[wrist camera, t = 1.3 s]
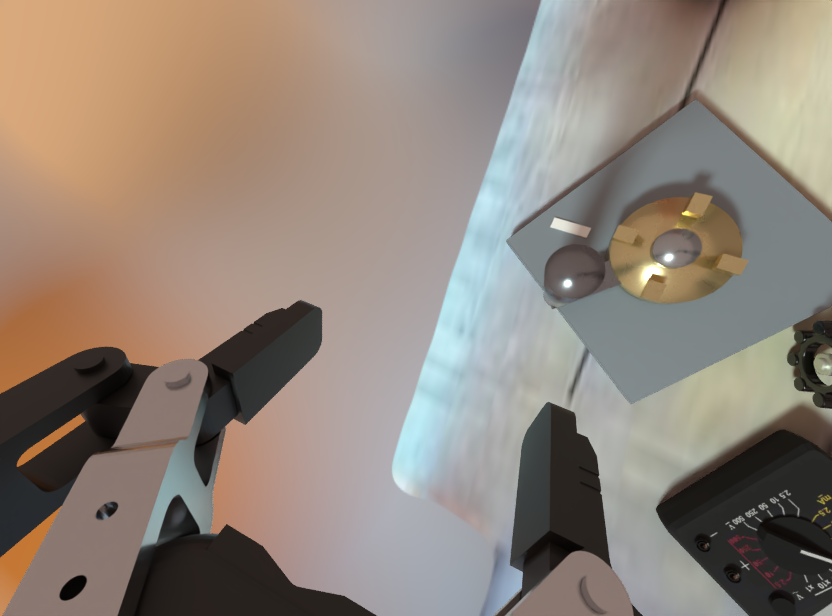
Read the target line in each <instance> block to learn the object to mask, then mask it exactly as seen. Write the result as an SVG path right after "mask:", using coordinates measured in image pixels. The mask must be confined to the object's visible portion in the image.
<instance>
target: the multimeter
mask: <svg viewBox="0 0 832 616" xmlns="http://www.w3.org/2000/svg"><path fill="white" fill-rule="evenodd" d="M656 511H657V513H658V516H659V518H660V520H661V522H662V523H663V525H664V526H665V528H666V529H667V530H668V532H669V533H670V534H671V535H672V536H673V537H674V538H675V539H676V540H677V541H678V542H679V544H680V545H681V546H682V547H683V548H684V549H685V550H686V551H687V552H688V553H689V554H690V555H691V556H692V557H693V558H694V559H695V560H696V561H697V562H698V563H699V564H700V565H701V566H702V567H703V568H704V569H705V571H706V572H707V573H708V574H709V575H710V576H711V577H712V578H713V579H714V580H715V581H716V582H717V583H718V584H719V585H720V586H721V587H722V588H723V589H724V590H725V591H726V592H727V593H728V594H729V595H730V596H731V598H732V599H733V600H734V601H735V602H736V603H737V604H738V605H739V606H740V607H741V608H742V609H743V610H744V611H745V612H746V613H747V614H748V615H749V616H832V458H831V457H830V456H829V455H827V454H826V453H825V452H824V451H822V450H821V449H820V448H819V447H818V446H816V445H815V444H813V443H811V442H810V441H808V440H806V439H804V438H802V437H800V436H798V435H796V434H794V433H791V432H788V431H786V430H779V431H776V432H775V433H773V434H772V435H770V436H769V437H767V438H765V439H764V440H762V441H761V442H759V443H757V444H756V445H754V446H753V447H751V448H749V449H748V450H746V451H745V452H743V453H742V454H740V455H738V456H737V457H735V458H734V459H732V460H730V461H729V462H727V463H726V464H724V465H722V466H721V467H719V468H718V469H716V470H715V471H713V472H711V473H710V474H708V475H707V476H705V477H703V478H702V479H700V480H699V481H697V482H695V483H694V484H692V485H691V486H689V487H688V488H686V489H684V490H683V491H681V492H680V493H678V494H676V495H675V496H673V497H672V498H670V499H669V500H667V501H665V502H664V503H662V504H661V505H659V506H658V507H657V509H656Z"/></svg>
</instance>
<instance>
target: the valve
mask: <svg viewBox="0 0 832 616" xmlns="http://www.w3.org/2000/svg"><path fill="white" fill-rule="evenodd" d="M794 339H795V341H796V342H797V343H799V344H800V345H801V349H800V352H799V353H789V354H788V356H787V361H788V363H789V364H790V365H791V366H798V367H799V369H800V373H801V376H800V377H797V378H796V379H795V380H794V386H795V388H796V389H797V390H798V391H804V392H815V394H814V395H813V402H814V404H815V405H816V406H817V407H820V408H829V409H832V385H831V386H827V385H826V384H824V383H823V382H822V381H821V380H820V379H819V378H818V376H817V374H816V372H815V369H814V367H815V368H816V370H817V372H818V373H819V374H822V375H828V376H832V354H823V353H819V354H818V355H817V356H816V358H814V355H815V352H816V350H817V349H818V348H819V347H820V346H821V345H822V344H824V343H826V344H828V345H830V346H831V347H832V321H817V322H815V323H814V325H813V331H812V330H798V331H796V332H795V334H794Z"/></svg>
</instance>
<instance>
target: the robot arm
mask: <svg viewBox="0 0 832 616" xmlns="http://www.w3.org/2000/svg"><path fill="white" fill-rule="evenodd" d="M321 342H322V310H321V309H320V308H319V307H317V306H314V305H312V304H309V303H307V302H304V301H301V300H300V301H297V302H296V303H294V304H293V305H291V306H290V307H289V308H287V309H283V308H281V309H278V310H275V311H272V312H269V313H266V314H265V315H264V316H262V317H261V318H259V319H258V320H256V321H255V322H254V324H250V325H249V326H247V327H246V328H245V329H244V330H243V331H240V332H239V333H237V334H236V335H234V336H233V337H231V338H230V339H229V340H227V341H226V342H224V343H223V344H221V345H220V346H218V347H217V348H215V349H214V350H213V351H211V352H210V353H208V354H207V355H205V356H204V357H202V358H201V359H199V360H194V359H182V360H176V361H173V362H169V363H167V364H164V365H163V366H161V367H154V366H147V365H139V364H132V363H129V361H128V359H127V357H126V355H125V353H124V352H123V351H122V350H120V349H118V348H113V347H99V348H92V349H88V350H85V351H82V352H79V353H77V354H75V355H72V356H71V357H69V358H67V359H65V360H63V361H61V362H59V363H57V364H55V365H54V366H52V367H50V368H48V369H46V370H44V371H43V372H40V373H39V374H37V375H35V376H33V377H31V378H29V379H27V380H26V381H24V382H22V383H20V384H18V385H16V386H14V387H12V388H11V389H9V390H7V391H5V392H3V393H1V394H0V557H1V556H2V555H4V554H5V553H6V552H7V551H8V550H10V549H11V548H12V547H13V546H14V545H15V544H16V543H18V542H19V541H20V540H21V539H22V538H24V537H25V536H26V535H27V534H28V533H30V532H31V531H32V530H33V529H34V528H36V527H37V526H38V525H39V524H40V523H42V522H43V521H44V520H45V519H46V518H47V517H49V516H50V515H51V514H52V513H53V512H55V511H56V510H57V509H58V508H59V507H60V506H62V507H61V509H60V510H59V512H58V514H57V516H56V518H55V520H54V522H53V524H52V525H51V527H50V529H49V531H48V533H47V534H46V536H45V538H44V540H43V542H42V544H41V545H40V548H39V549H38V551H37V553H36V555H35V557H34V558H33V560H32V562H31V564H30V566H29V568H28V569H27V571H26V573H25V575H24V577H23V579H22V580H21V582H20V584H19V586H18V588H17V590H16V592H15V593H14V595H13V597H12V599H11V601H10V603H9V604H8V606H7V608H6V610H5V612H4V614H3V616H376V615H375V614H373V613H371V612H370V611H368V610H366V609H365V608H363V607H362V606H360V605H358V604H357V603H355V602H353V601H352V600H350V599H348V598H347V597H345V596H341V595H336V594H331V593H326V592H321V591H316V590H311V589H306V588H301V587H297V586H295V585H293V584H292V583H291V582H290V581H289V580H288V578H287V577H286V576H285V574H284V573H283V572H282V570H281V569H280V568H279V567H278V566H277V564H276V563H275V561H274V560H273V559H272V558H271V556H270V555H269V554H268V552H267V551H266V550H265V549H264V547H263V546H261V545H259V544H258V543H257V542H255V541H253V540H252V539H250V538H248V537H247V536H245V535H244V534H241V533H240V532H239V531H237V530H235V529H233V528H232V527H230V526H229V525H227V524H226V526H225V527H224V528H223V529H222V530H221V532H220V533H219V534H210V532H211V526H212V520H213V489H214V484H215V479H216V474H217V469H218V465H219V460H220V455H221V450H222V446H223V441H224V436H225V431H226V427H225V426H226V425H227V424H228V423H229V422H230V421H231V420H232V419H235V420H237V421H239V422H241V423H243V424H245V425H246V424H247V423H248V422H249V421H250V420H251V419H252V418H253V417H254V416H255V415H256V414H257V413H258V412H259V411H260V410H261V409H262V408H263V407H264V406H265V405H266V404H267V403H268V402H269V401H270V400H271V399H272V398H273V397H274V396H275V395H276V394H277V393H278V392H279V391H280V390H281V389H282V388H283V387H284V386H285V385H286V384H287V383H288V382H289V381H290V380H291V379H292V378H293V377H294V376H295V375H296V374H297V373H298V372H299V371H300V369H302V368H303V367H304V366H305V365H306V364H307V363H308V362H309V361H310V360H311V359H312V357H314V356H315V354H316V353H317V352H318V350H319V348H320V345H321ZM79 414H81V415H82V417H83V418H84V419H85V422H84V423H82V424H81V425H79V426H78V427H76V428H75V429H74V430H72V431H71V432H69V433H68V434H67V435H65V436H64V437H62V438H61V439H59V440H58V441H56V442H55V443H54V444H52V445H51V446H49V447H48V448H46V449H45V450H43V451H42V452H41V453H39V454H38V455H36V456H35V457H34V458H32V459H31V460H29V461H28V462H26V463H25V464H23V465H21V466H19V467H17V461H18V460H19V458H20V457H21V455H22V454H23V453H24V452H25V451H26V450H27V449H29V448H30V447H32V446H33V445H35V444H36V443H38V442H39V441H41V440H42V439H44V438H45V437H47V436H48V435H49V434H51V433H53V432H54V431H55V430H57V429H58V428H60V427H61V426H63V425H64V424H66V423H67V422H69V421H70V420H72V419H73V418H75V417H76V416H78V415H79ZM598 476H599V470H598V462H597V456H596V454H595V452H594V450H593V448H592V446H591V444H590V442H589V440H588V437H585V436H583V435H581V434H578V433H577V428H576V416H575V414H574V412H572V411H569V410H567V409H564V408H562V407H559V406H557V405H555V404H552V403H550V402H547V403H546V404H545V405H544V407H543V408H542V410H541V411H540V413H539V414H538V415H537V417H536V418H535V420H534V421H533V423H532V424H531V426H530V427H529V429H528V430H527V432H526V434H525V437H524V440H523V443H522V449H521V459H520V469H519V479H518V488H517V498H516V508H515V518H514V528H513V538H512V548H511V558H510V565H511V566H513V567H515V568H516V569H518V570H520V571H522V572H523V580H522V588H521V589H520V590H519V591H518V592H517V593H516V594H515V595H514V596H513V597H512V598H511V599H510V600H509V601H508V602H507V603H506V604H505V605H504V606H503V607H502V608H501V609H500V610H499V611H497V612H496V613H495V614H494V615H493V616H643V615H642V614H640V613H639V612H638V611H637V609H636V608H635V607H634V606H633V605H632V604H631V601H630V598H629V596H628V593H627V591H626V589H625V587H624V585H623V584H622V582H621V580H620V579H619V577H618V576H617V575H616V573H615V572H614V571H613V570H612V567H611V564H610V558H609V551H608V543H607V535H606V527H605V519H604V511H603V503H602V495H601V494H600V492H601V486H600V479H599V478H598Z"/></svg>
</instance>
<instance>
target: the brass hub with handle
mask: <svg viewBox="0 0 832 616" xmlns="http://www.w3.org/2000/svg"><path fill="white" fill-rule="evenodd" d="M712 197H713V196H710V195H705V194H701V193H696V192H695V193H694V194H693V195H691V197H690V198H687V197H675V198H667V199H662V200H658V201H655V202H652V203H650V204H647V205H645V206H643V207H641V208H640V209H638V210H636V211H635V212H634V213H632V214H631V215H630V216H629V217H628V218H627V219H626V220H625V221H624V222H623V223H622V224H621V225H618V227H617V228H616V230H615V232H614V234H613V236H612V238H611V240H610V243H609V245H608V249H607V261H606V262H604V261H603V259H602V257H601V255H600V254H599V253H598V252H597V251H596V250H594V249H593V248H591V247H589V246H586V245H582V244H571V245H566V246H564V247H561V248H559V249H558V250H556V251H555V252H554V253H553V254H552V255H551V256H550V257H549V259H548V260H547V262H546V265H545V271H544V286H543V289H544V300H545V301H546V303H547V304H548V305H550V306H551V308H552V309H554V308H557V307H563V306H565V305H567V304H570V303H572V302H574V301H576V300H579V299H582V298H585V297H587V296H590V295H593V294H596V293H598V292H601V291H604V290H607V289H609V288H612V287H615V286H619V287H620V288H621V289H622V290H623V291H625V292H626V293H627V294H629V295H631V296H633V297H635V298H637V299H639V300H642V301H646V302H650V303H656V304H672V303H682V302H689V301H693V300H697V299H700V298H702V297H705V296H707V295H709V294H711V293H713V292H715V291H716V290H718V289H719V288H720V287H722V286H723V285H724V284H725V283H726V282H727V281H728V280H729V279H730V278H731V277H732V276H739V275H741V274H742V272H743V270H744V269H745V267H746V265H747V263H748V261H749V260H745V259H742V258H741V257H742V251H743V243H742V237H741V233H740V231H739V228H738V226H737V225H736V223H735V222H734V220H733V219H732V218H731V217H730V216H729V215H728V214H727V213H726V212H725V211H723V210H722V209H721V208H719V207H717V206H716V205H714V204H711V203H710V201H711V199H712Z"/></svg>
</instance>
